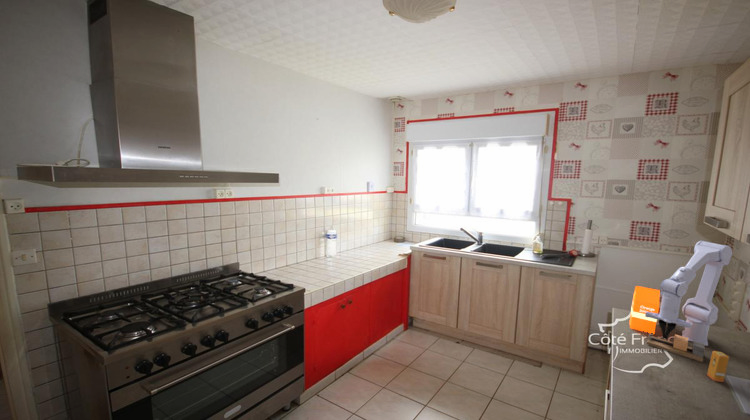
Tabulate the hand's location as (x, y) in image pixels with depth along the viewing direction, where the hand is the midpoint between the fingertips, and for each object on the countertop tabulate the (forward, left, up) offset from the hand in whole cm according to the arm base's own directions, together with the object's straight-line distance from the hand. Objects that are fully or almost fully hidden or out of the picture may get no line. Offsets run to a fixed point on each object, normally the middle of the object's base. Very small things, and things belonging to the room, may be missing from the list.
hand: (664, 337), depth 137 cm
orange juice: (-13, -8, -4) cm, 16 cm away
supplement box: (+15, +15, -4) cm, 21 cm away
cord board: (0, +3, -4) cm, 5 cm away
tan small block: (0, +5, -2) cm, 5 cm away
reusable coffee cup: (-25, -6, -4) cm, 26 cm away
